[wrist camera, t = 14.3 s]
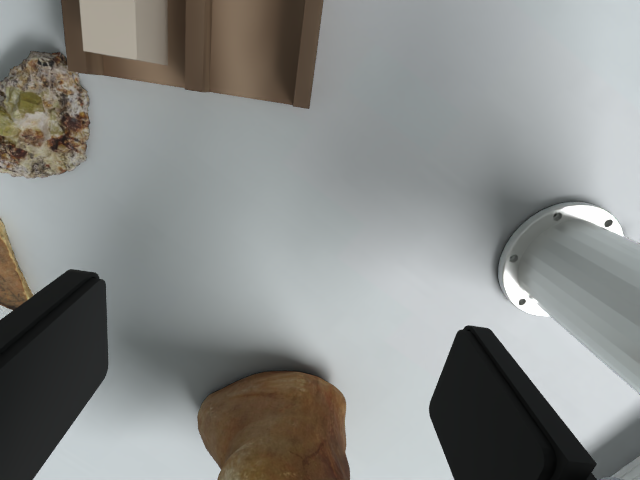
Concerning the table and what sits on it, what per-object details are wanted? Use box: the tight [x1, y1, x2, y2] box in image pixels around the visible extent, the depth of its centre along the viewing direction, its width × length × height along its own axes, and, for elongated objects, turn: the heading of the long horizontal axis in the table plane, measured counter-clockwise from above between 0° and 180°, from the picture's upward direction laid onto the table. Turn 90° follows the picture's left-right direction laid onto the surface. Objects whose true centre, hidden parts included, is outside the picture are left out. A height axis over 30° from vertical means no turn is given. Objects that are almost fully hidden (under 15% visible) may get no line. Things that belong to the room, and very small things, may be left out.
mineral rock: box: [0, 51, 90, 178], centre depth 28 cm, size 11×4×8 cm
